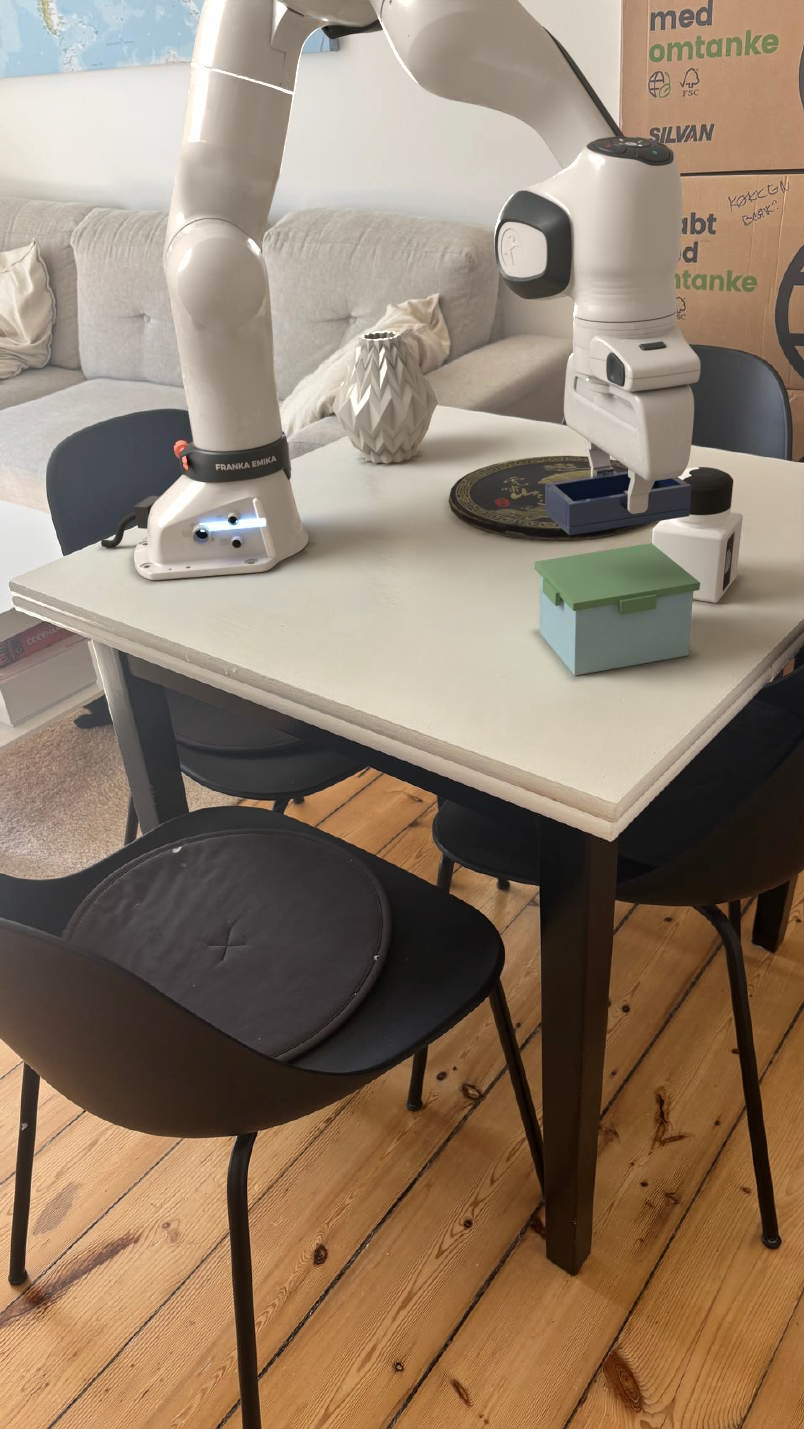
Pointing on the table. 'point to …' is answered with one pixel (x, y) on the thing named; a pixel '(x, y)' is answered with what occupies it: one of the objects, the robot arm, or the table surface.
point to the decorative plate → (521, 497)
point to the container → (704, 533)
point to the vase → (384, 399)
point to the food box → (615, 608)
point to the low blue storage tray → (611, 502)
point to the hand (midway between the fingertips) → (618, 497)
